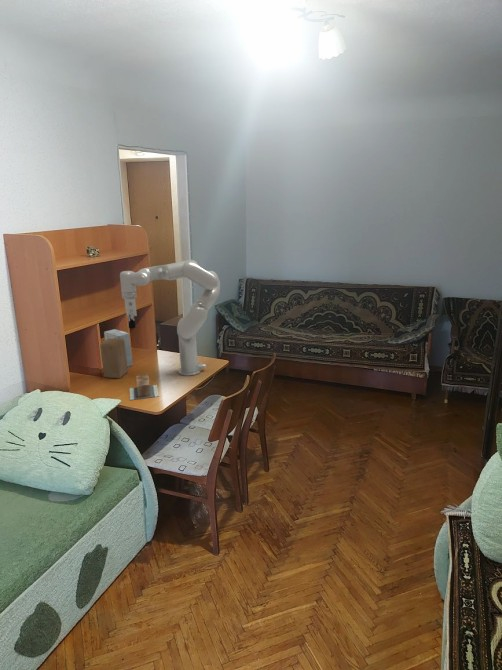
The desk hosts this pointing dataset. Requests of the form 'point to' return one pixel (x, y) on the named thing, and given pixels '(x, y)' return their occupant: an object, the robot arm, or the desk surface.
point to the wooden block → (114, 358)
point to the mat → (135, 396)
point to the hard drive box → (123, 335)
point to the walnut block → (143, 386)
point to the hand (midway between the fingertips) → (132, 327)
